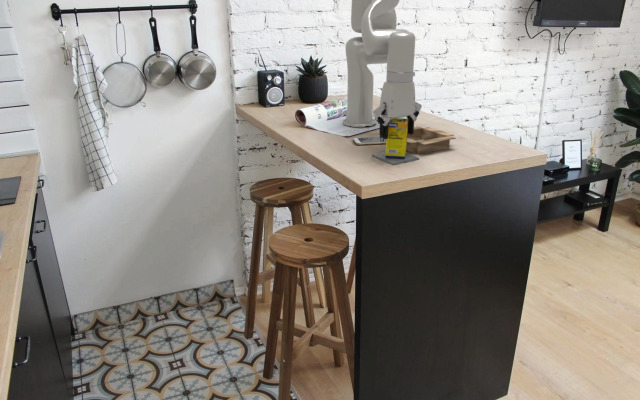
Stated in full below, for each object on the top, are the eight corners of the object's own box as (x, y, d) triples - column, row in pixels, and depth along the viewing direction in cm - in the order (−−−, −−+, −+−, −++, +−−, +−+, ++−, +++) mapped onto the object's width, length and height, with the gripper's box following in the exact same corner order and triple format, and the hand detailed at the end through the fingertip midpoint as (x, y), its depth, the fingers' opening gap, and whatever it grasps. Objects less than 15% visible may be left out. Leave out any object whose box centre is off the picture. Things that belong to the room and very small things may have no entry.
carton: (380, 143, 172) (380, 132, 171) (421, 135, 181) (422, 125, 179) (417, 157, 158) (417, 145, 156) (460, 148, 166) (461, 136, 165)
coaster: (372, 156, 159) (372, 154, 158) (397, 151, 164) (397, 149, 163) (392, 165, 151) (393, 163, 151) (419, 159, 156) (419, 157, 155)
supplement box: (405, 159, 154) (407, 123, 150) (384, 158, 155) (386, 122, 151) (406, 153, 159) (408, 118, 155) (386, 152, 160) (388, 117, 156)
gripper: (414, 73, 155) (410, 129, 162) (367, 78, 147) (365, 137, 153) (431, 76, 149) (427, 134, 156) (383, 81, 141) (381, 142, 147)
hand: (396, 135), depth 155 cm, fingers open, 9 cm apart
